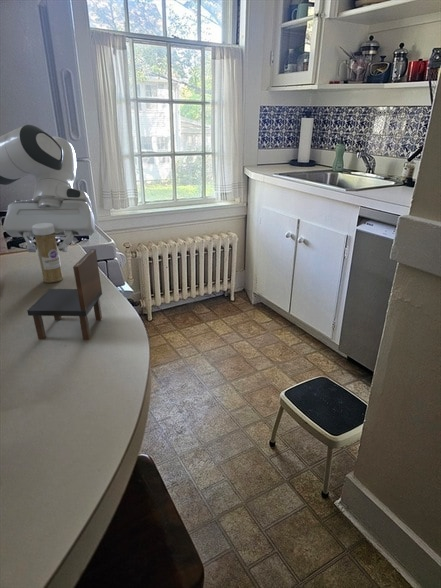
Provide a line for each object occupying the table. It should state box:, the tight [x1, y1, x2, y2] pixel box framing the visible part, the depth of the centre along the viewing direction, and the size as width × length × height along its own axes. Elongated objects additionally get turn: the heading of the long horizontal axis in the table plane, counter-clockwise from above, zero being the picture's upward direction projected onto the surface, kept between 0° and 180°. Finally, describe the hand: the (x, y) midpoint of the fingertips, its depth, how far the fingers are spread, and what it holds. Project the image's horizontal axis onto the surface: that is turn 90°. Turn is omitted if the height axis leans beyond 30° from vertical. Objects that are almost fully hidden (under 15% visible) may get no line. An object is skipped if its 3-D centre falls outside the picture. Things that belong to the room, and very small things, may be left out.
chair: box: [26, 248, 103, 341], centre depth 70 cm, size 10×9×14 cm
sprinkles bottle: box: [32, 223, 64, 284], centre depth 91 cm, size 5×5×14 cm
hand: (46, 251), depth 90 cm, fingers open, 6 cm apart
